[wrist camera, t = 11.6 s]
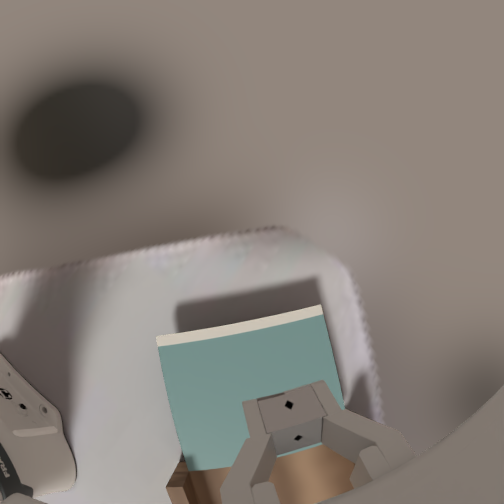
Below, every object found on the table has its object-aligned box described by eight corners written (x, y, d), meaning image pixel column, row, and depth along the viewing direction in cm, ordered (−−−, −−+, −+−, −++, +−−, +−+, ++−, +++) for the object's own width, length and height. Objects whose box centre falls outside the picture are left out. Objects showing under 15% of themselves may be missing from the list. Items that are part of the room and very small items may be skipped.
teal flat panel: (188, 471, 19) (155, 336, 24) (190, 466, 20) (159, 337, 25) (350, 434, 21) (320, 304, 26) (344, 431, 22) (316, 306, 27)
